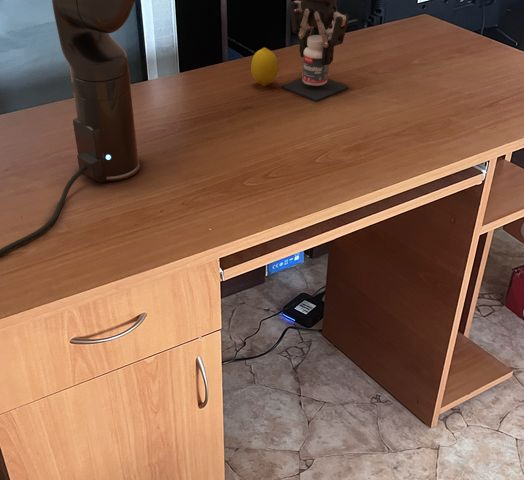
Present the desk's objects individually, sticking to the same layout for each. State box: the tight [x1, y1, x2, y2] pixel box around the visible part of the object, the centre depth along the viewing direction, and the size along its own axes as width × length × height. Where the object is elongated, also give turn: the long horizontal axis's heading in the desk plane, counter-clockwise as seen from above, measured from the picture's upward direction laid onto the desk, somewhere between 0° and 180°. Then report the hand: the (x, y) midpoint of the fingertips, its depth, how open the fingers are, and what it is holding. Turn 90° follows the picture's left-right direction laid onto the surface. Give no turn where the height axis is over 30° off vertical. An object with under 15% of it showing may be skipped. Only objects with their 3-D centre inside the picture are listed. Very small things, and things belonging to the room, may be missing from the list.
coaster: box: [280, 77, 350, 103], centre depth 164 cm, size 10×10×1 cm
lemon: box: [250, 47, 279, 87], centre depth 162 cm, size 6×6×8 cm
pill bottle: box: [301, 34, 329, 86], centre depth 161 cm, size 5×5×9 cm
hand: (315, 60), depth 161 cm, fingers closed on pill bottle, 5 cm apart
